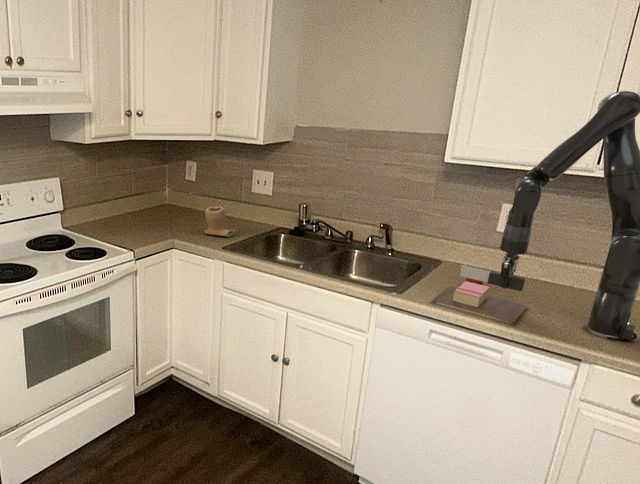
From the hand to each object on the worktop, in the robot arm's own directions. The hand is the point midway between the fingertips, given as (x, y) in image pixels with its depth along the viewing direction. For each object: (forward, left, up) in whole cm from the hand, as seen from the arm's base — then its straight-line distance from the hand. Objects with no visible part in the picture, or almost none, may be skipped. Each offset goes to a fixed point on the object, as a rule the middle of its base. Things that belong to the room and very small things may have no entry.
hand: (504, 286), depth 177 cm
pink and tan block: (+10, +2, -9) cm, 13 cm away
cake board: (+6, -1, -10) cm, 12 cm away
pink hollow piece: (+128, -4, -10) cm, 128 cm away
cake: (+10, -5, -9) cm, 14 cm away
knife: (+4, 0, 0) cm, 5 cm away
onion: (+13, -18, -10) cm, 24 cm away
